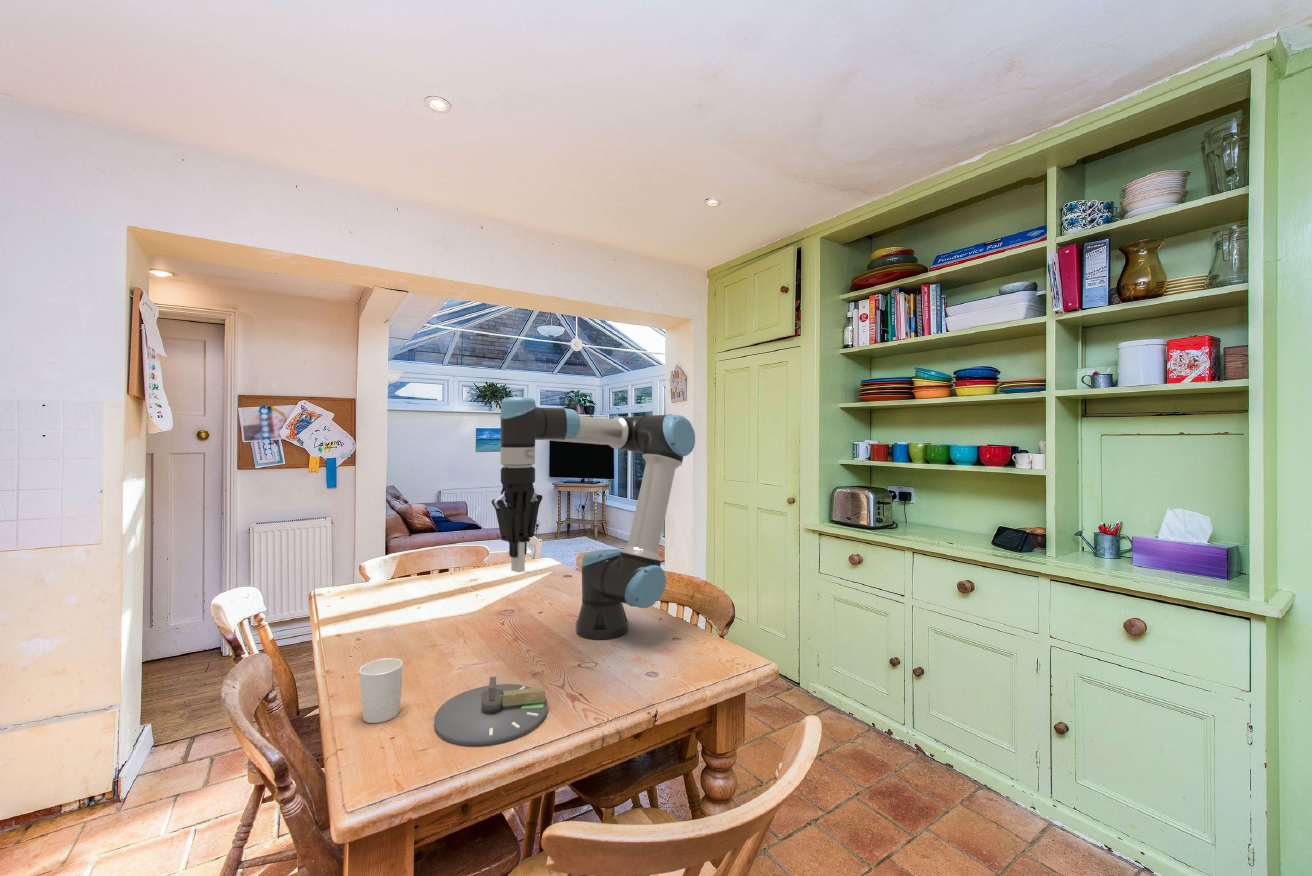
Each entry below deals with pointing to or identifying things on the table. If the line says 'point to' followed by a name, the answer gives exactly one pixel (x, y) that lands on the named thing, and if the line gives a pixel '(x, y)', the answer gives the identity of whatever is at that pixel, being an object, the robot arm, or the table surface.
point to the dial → (486, 719)
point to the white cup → (381, 689)
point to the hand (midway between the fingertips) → (518, 570)
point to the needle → (509, 697)
